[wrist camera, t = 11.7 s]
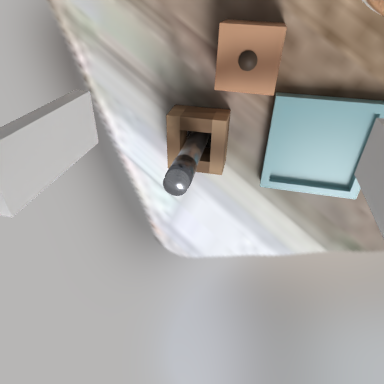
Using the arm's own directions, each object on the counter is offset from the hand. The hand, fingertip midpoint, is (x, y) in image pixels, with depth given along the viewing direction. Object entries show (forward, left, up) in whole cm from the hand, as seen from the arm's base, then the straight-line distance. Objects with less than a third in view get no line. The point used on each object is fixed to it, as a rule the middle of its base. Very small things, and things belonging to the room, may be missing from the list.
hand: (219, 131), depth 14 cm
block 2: (0, 0, -23) cm, 23 cm away
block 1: (+10, -5, -22) cm, 25 cm away
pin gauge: (+10, -5, -22) cm, 25 cm away
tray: (+10, +10, -22) cm, 26 cm away
